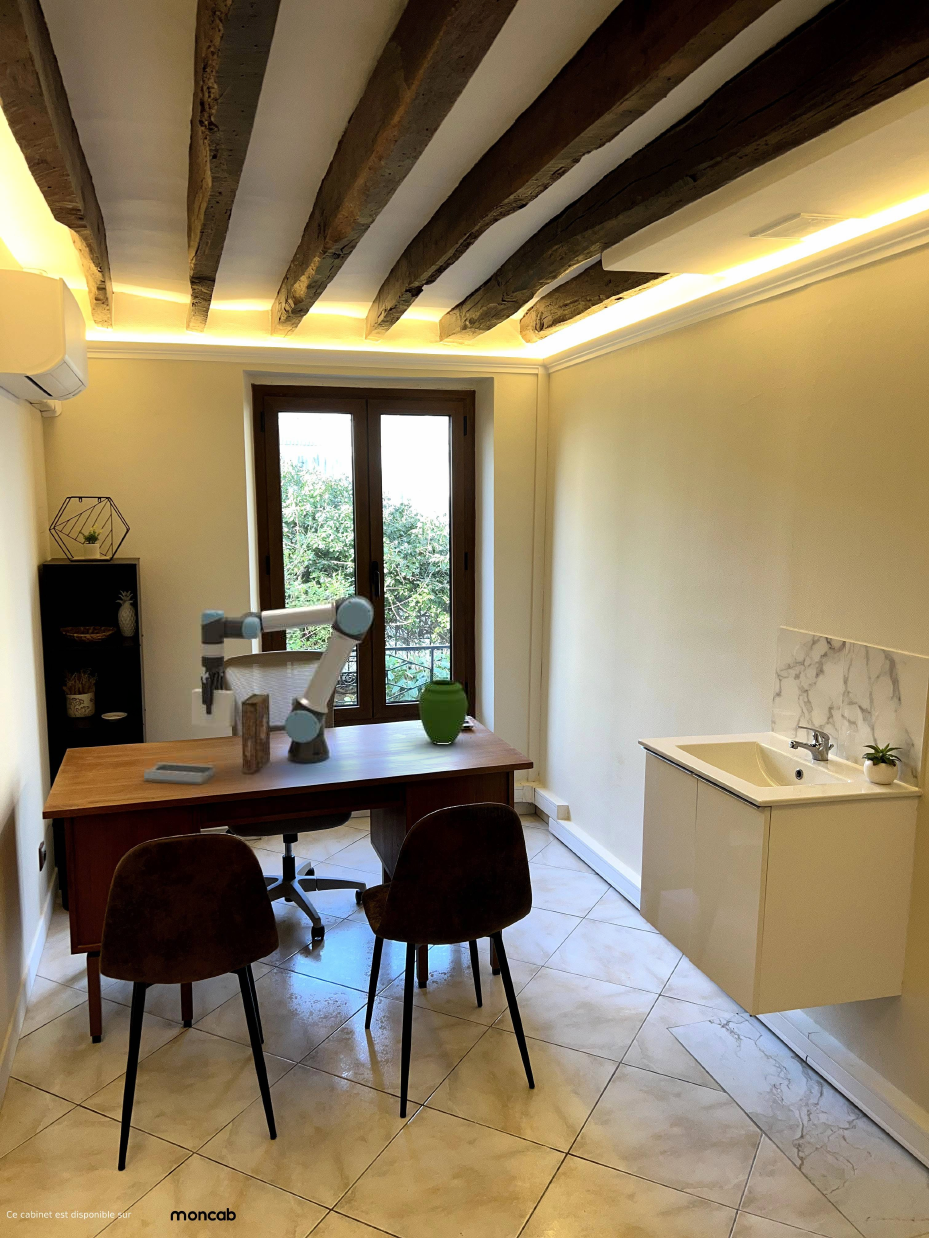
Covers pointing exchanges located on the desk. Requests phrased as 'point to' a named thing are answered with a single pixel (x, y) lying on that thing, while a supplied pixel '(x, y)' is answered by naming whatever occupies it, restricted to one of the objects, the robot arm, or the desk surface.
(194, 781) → the track
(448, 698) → the vase
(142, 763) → the desk surface
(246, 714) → the book
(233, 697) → the door
